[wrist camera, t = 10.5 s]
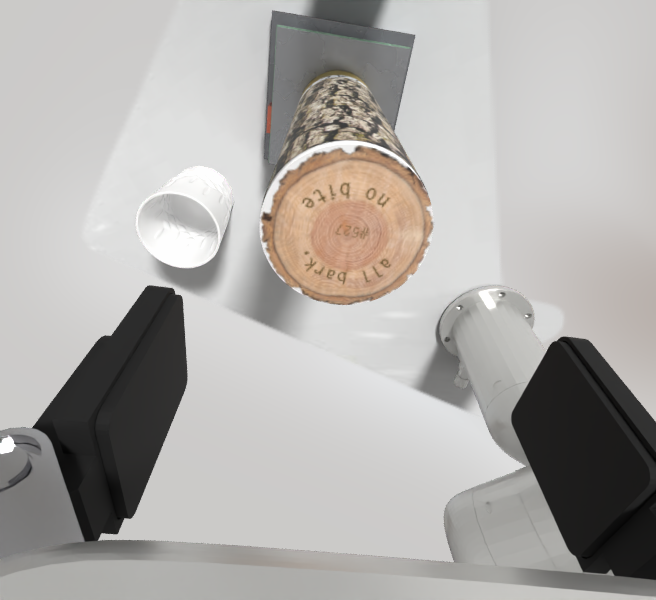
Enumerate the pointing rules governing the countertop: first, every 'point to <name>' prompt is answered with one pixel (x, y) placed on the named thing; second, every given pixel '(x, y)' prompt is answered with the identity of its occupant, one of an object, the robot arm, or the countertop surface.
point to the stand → (329, 66)
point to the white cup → (186, 218)
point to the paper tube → (344, 199)
